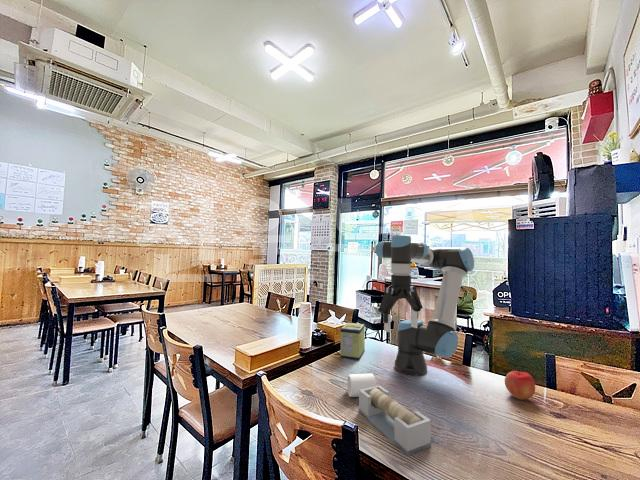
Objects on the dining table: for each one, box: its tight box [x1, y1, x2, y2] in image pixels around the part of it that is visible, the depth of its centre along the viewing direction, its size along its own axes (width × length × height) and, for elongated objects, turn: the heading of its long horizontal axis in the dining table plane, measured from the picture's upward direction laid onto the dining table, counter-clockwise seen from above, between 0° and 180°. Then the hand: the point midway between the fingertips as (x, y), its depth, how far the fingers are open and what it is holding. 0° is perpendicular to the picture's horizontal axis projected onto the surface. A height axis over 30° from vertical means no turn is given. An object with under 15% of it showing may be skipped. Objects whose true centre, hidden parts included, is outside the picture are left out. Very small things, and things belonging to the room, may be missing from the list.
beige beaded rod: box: [369, 388, 422, 425], centre depth 92 cm, size 20×5×5 cm, turn 26°
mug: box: [346, 372, 377, 398], centre depth 114 cm, size 12×10×8 cm
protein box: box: [340, 322, 366, 361], centre depth 156 cm, size 10×16×16 cm
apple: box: [504, 370, 536, 401], centre depth 111 cm, size 10×10×10 cm
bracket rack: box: [358, 384, 432, 457], centre depth 91 cm, size 9×24×8 cm, turn 26°
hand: (401, 329), depth 110 cm, fingers open, 13 cm apart
